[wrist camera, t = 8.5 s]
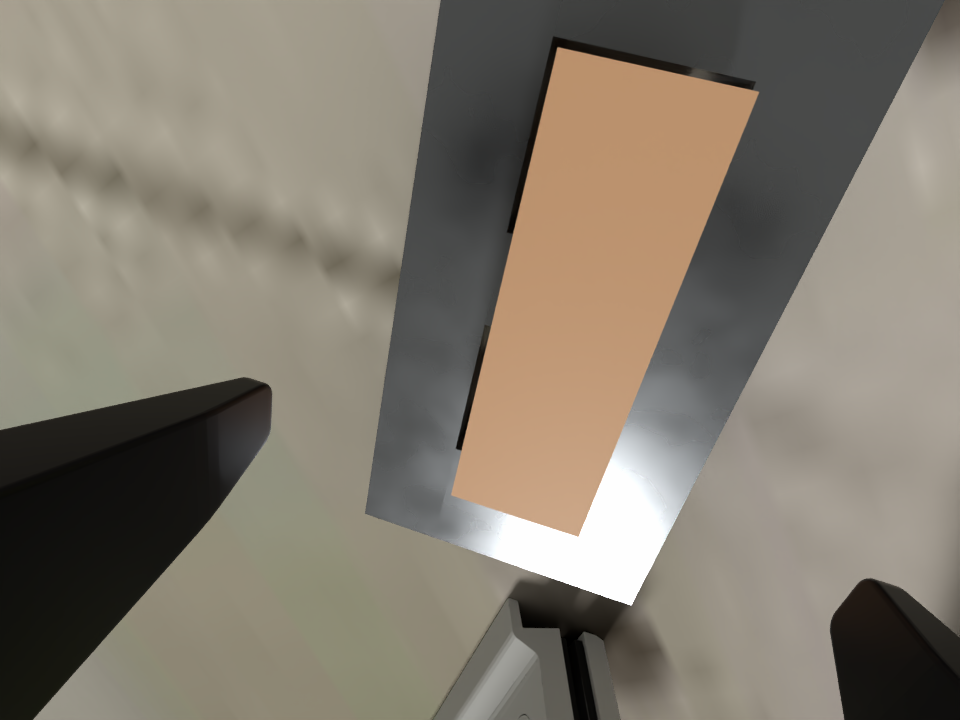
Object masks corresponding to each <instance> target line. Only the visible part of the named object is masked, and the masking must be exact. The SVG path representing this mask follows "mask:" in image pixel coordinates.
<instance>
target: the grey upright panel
mask: <svg viewBox="0 0 960 720" xmlns="http://www.w3.org/2000/svg"><path fill="white" fill-rule="evenodd" d="M433 720H621V719H620V714H619V710H618V705H617V701H616V696H615V692H614V687H613V682H612V678H611V673H610V669H609V664H608V660H607V655H606V651H605V646H604V642H603V640H602V639H600V638H599V637H597V636H596V635H593V634H590V633H587V632H583V633H582V634H581V636H580V637H579V638H578V639H577V640H574V641H573V642H572V644H571V645H570V646H569V648H567V642H566V639H565V638H561V637H560V630H559V628H523V627H522V622H521V616H520V611H519V605H518V601H516V600H513V599H510V598H508V599H507V600H506V602H505V604H504V605H503V607H502V608H501V610H500V612H499V613H498V615H497V617H496V618H495V620H494V621H493V623H492V625H491V626H490V628H489V630H488V631H487V633H486V634H485V636H484V638H483V639H482V641H481V643H480V644H479V646H478V648H477V649H476V651H475V652H474V654H473V656H472V657H471V659H470V661H469V662H468V664H467V665H466V667H465V669H464V670H463V672H462V674H461V675H460V677H459V678H458V680H457V682H456V683H455V685H454V687H453V688H452V690H451V691H450V693H449V695H448V696H447V698H446V700H445V701H444V703H443V704H442V706H441V708H440V709H439V711H438V713H437V714H436V716H435V717H434V719H433Z"/></svg>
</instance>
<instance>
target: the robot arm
mask: <svg viewBox="0 0 960 720" xmlns="http://www.w3.org/2000/svg"><path fill="white" fill-rule="evenodd" d="M271 413H272V390H271V388H270V386H269V385H268V384H266V383H263V382H260V381H257V380H254V379H251V378H246V377H243V378H238V379H233V380H229V381H224V382H220V383H215V384H210V385H206V386H201V387H197V388H192V389H187V390H183V391H178V392H173V393H169V394H164V395H160V396H155V397H150V398H146V399H141V400H137V401H132V402H127V403H123V404H118V405H114V406H109V407H104V408H100V409H95V410H91V411H86V412H81V413H77V414H72V415H67V416H63V417H58V418H54V419H49V420H44V421H40V422H35V423H31V424H26V425H21V426H17V427H12V428H8V429H3V430H0V720H33V719H34V718H35V717H36V716H37V714H38V713H39V712H40V711H41V710H42V709H43V708H44V706H45V705H46V704H47V703H48V702H49V701H50V700H51V699H52V697H53V696H54V695H55V694H56V693H57V692H58V691H59V690H60V688H61V687H62V686H63V685H64V684H65V683H66V682H67V681H68V679H69V678H70V677H71V676H72V675H73V674H74V673H75V671H76V670H77V669H78V668H79V667H80V666H81V665H82V664H83V662H84V661H85V660H86V659H87V658H88V657H89V656H90V655H91V653H92V652H93V651H94V650H95V649H96V648H97V647H98V646H99V644H100V643H101V642H102V641H103V640H104V639H105V638H106V636H107V635H108V634H109V633H110V632H111V631H112V630H113V629H114V627H115V626H116V625H117V624H118V623H119V622H120V621H121V620H122V618H123V617H124V616H125V615H126V614H127V613H128V612H129V611H130V609H131V608H132V607H133V606H134V605H135V604H136V603H137V601H138V600H139V599H140V598H141V597H142V596H143V595H144V594H145V592H146V591H147V590H148V589H149V588H150V587H151V586H152V585H153V583H154V582H155V581H156V580H157V579H158V578H159V577H160V576H161V574H162V573H163V572H164V571H165V570H166V569H167V568H168V567H169V565H170V564H171V563H172V562H173V561H174V560H175V559H176V557H177V556H178V555H179V554H180V553H181V552H182V551H183V550H184V548H185V547H186V546H187V545H188V544H189V543H190V542H191V541H192V539H193V538H194V537H195V536H196V535H197V534H198V533H199V532H200V530H201V529H202V528H203V527H204V526H205V524H206V523H207V522H208V521H209V520H210V518H211V517H212V516H213V515H214V513H215V512H216V511H217V509H218V508H219V507H220V505H221V504H222V503H223V501H224V500H225V498H226V497H227V496H228V494H229V493H230V491H231V490H232V489H233V487H234V486H235V484H236V483H237V482H238V480H239V479H240V477H241V476H242V475H243V473H244V472H245V470H246V469H247V468H248V466H249V465H250V463H251V462H252V461H253V459H254V458H255V456H256V455H257V454H258V452H259V451H260V449H261V448H262V447H263V445H264V444H265V442H266V441H267V439H268V436H269V434H270V430H271ZM830 634H831V640H832V646H833V653H834V659H835V665H836V671H837V677H838V683H839V689H840V695H841V702H842V708H843V714H844V720H960V637H958V636H957V635H956V634H955V633H954V632H953V631H951V630H950V629H949V628H948V627H947V626H946V625H944V624H943V623H942V622H941V621H940V620H939V619H937V618H936V617H935V616H934V615H933V614H931V613H930V612H929V611H928V610H927V609H926V608H924V607H923V606H922V605H921V604H920V603H919V602H917V601H916V600H915V599H914V598H913V597H912V596H910V595H909V594H908V593H907V592H906V591H904V590H903V589H901V588H899V587H897V586H894V585H891V584H888V583H885V582H882V581H879V580H876V579H872V578H869V579H864V580H862V581H860V582H859V583H858V584H857V585H856V587H855V588H854V589H853V590H852V592H851V593H850V594H849V595H848V597H847V598H846V599H845V600H844V602H843V603H842V604H841V605H840V607H839V608H838V609H837V611H836V612H835V613H834V615H833V617H832V620H831V624H830Z"/></svg>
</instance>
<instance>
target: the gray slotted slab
mask: <svg viewBox="0 0 960 720" xmlns="http://www.w3.org/2000/svg"><path fill="white" fill-rule="evenodd" d="M944 1H945V0H441V3H440V9H439V16H438V23H437V30H436V37H435V43H434V50H433V57H432V64H431V70H430V77H429V84H428V91H427V98H426V104H425V111H424V118H423V125H422V132H421V138H420V145H419V152H418V159H417V165H416V172H415V179H414V186H413V193H412V199H411V206H410V213H409V220H408V226H407V233H406V240H405V247H404V254H403V260H402V267H401V274H400V281H399V287H398V294H397V301H396V308H395V315H394V321H393V328H392V335H391V342H390V349H389V355H388V362H387V369H386V376H385V382H384V389H383V396H382V403H381V410H380V416H379V423H378V430H377V437H376V443H375V450H374V457H373V464H372V471H371V477H370V484H369V491H368V498H367V505H366V511H365V514H368V515H371V516H373V517H376V518H379V519H382V520H385V521H388V522H391V523H394V524H397V525H400V526H402V527H405V528H408V529H411V530H414V531H417V532H420V533H423V534H426V535H428V536H431V537H434V538H437V539H440V540H443V541H446V542H449V543H452V544H455V545H457V546H460V547H463V548H466V549H469V550H472V551H475V552H478V553H481V554H484V555H486V556H489V557H492V558H495V559H498V560H501V561H504V562H507V563H510V564H512V565H515V566H518V567H521V568H524V569H527V570H530V571H533V572H536V573H539V574H541V575H544V576H547V577H550V578H553V579H556V580H559V581H562V582H565V583H567V584H570V585H573V586H576V587H579V588H582V589H585V590H588V591H591V592H594V593H596V594H599V595H602V596H605V597H608V598H611V599H614V600H617V601H620V602H622V603H625V604H628V605H632V603H633V601H634V599H635V597H636V595H637V593H638V591H639V589H640V587H641V585H642V583H643V582H644V580H645V578H646V576H647V574H648V572H649V570H650V568H651V566H652V564H653V562H654V560H655V558H656V556H657V555H658V553H659V551H660V549H661V547H662V545H663V543H664V541H665V539H666V537H667V535H668V533H669V531H670V529H671V528H672V526H673V524H674V522H675V520H676V518H677V516H678V514H679V512H680V510H681V508H682V506H683V504H684V502H685V501H686V499H687V497H688V495H689V493H690V491H691V489H692V487H693V485H694V483H695V481H696V479H697V477H698V475H699V473H700V472H701V470H702V468H703V466H704V464H705V462H706V460H707V458H708V456H709V454H710V452H711V450H712V448H713V446H714V445H715V443H716V441H717V439H718V437H719V435H720V433H721V431H722V429H723V427H724V425H725V423H726V421H727V419H728V418H729V416H730V414H731V412H732V410H733V408H734V406H735V404H736V402H737V400H738V398H739V396H740V394H741V392H742V390H743V389H744V387H745V385H746V383H747V381H748V379H749V377H750V375H751V373H752V371H753V369H754V367H755V365H756V363H757V362H758V360H759V358H760V356H761V354H762V352H763V350H764V348H765V346H766V344H767V342H768V340H769V338H770V336H771V335H772V333H773V331H774V329H775V327H776V325H777V323H778V321H779V319H780V317H781V315H782V313H783V311H784V309H785V308H786V306H787V304H788V302H789V300H790V298H791V296H792V294H793V292H794V290H795V288H796V286H797V284H798V282H799V280H800V279H801V277H802V275H803V273H804V271H805V269H806V267H807V265H808V263H809V261H810V259H811V257H812V255H813V253H814V252H815V250H816V248H817V246H818V244H819V242H820V240H821V238H822V236H823V234H824V232H825V230H826V228H827V226H828V225H829V223H830V221H831V219H832V217H833V215H834V213H835V211H836V209H837V207H838V205H839V203H840V201H841V199H842V198H843V196H844V194H845V192H846V190H847V188H848V186H849V184H850V182H851V180H852V178H853V176H854V174H855V172H856V170H857V169H858V167H859V165H860V163H861V161H862V159H863V157H864V155H865V153H866V151H867V149H868V147H869V145H870V143H871V142H872V140H873V138H874V136H875V134H876V132H877V130H878V128H879V126H880V124H881V122H882V120H883V118H884V116H885V115H886V113H887V111H888V109H889V107H890V105H891V103H892V101H893V99H894V97H895V95H896V93H897V91H898V89H899V88H900V86H901V84H902V82H903V80H904V78H905V76H906V74H907V72H908V70H909V68H910V66H911V64H912V62H913V60H914V59H915V57H916V55H917V53H918V51H919V49H920V47H921V45H922V43H923V41H924V39H925V37H926V35H927V33H928V32H929V30H930V28H931V26H932V24H933V22H934V20H935V18H936V16H937V14H938V12H939V10H940V8H941V6H942V5H943V3H944ZM558 47H559V48H564V49H568V50H573V51H577V52H582V53H586V54H591V55H595V56H600V57H604V58H609V59H613V60H618V61H622V62H627V63H631V64H636V65H640V66H645V67H649V68H654V69H658V70H663V71H667V72H672V73H676V74H681V75H685V76H690V77H694V78H699V79H703V80H708V81H712V82H717V83H721V84H726V85H731V86H735V87H740V88H744V89H749V90H753V91H758V92H759V94H758V96H757V99H756V101H755V104H754V106H753V109H752V111H751V114H750V116H749V119H748V121H747V123H746V126H745V128H744V131H743V133H742V136H741V138H740V141H739V143H738V146H737V148H736V151H735V153H734V156H733V158H732V161H731V163H730V165H729V168H728V170H727V173H726V175H725V178H724V180H723V183H722V185H721V188H720V190H719V193H718V195H717V198H716V200H715V202H714V205H713V207H712V210H711V212H710V215H709V217H708V220H707V222H706V225H705V227H704V230H703V232H702V235H701V237H700V239H699V242H698V244H697V247H696V249H695V252H694V254H693V257H692V259H691V262H690V264H689V267H688V269H687V272H686V274H685V276H684V279H683V281H682V284H681V286H680V289H679V291H678V294H677V296H676V299H675V301H674V304H673V306H672V309H671V311H670V314H669V316H668V318H667V321H666V323H665V326H664V328H663V331H662V333H661V336H660V338H659V341H658V343H657V346H656V348H655V351H654V353H653V355H652V358H651V360H650V363H649V365H648V368H647V370H646V373H645V375H644V378H643V380H642V383H641V385H640V388H639V390H638V392H637V395H636V397H635V400H634V402H633V405H632V407H631V410H630V412H629V415H628V417H627V420H626V422H625V425H624V427H623V430H622V432H621V434H620V437H619V439H618V442H617V444H616V447H615V449H614V452H613V454H612V457H611V459H610V462H609V464H608V467H607V469H606V471H605V474H604V476H603V479H602V481H601V484H600V486H599V489H598V491H597V494H596V496H595V499H594V501H593V504H592V506H591V508H590V511H589V513H588V516H587V518H586V521H585V523H584V526H583V528H582V531H581V533H580V536H579V537H576V536H573V535H570V534H566V533H563V532H560V531H557V530H554V529H551V528H548V527H545V526H542V525H539V524H536V523H533V522H530V521H527V520H524V519H521V518H518V517H515V516H512V515H509V514H506V513H503V512H500V511H497V510H494V509H491V508H488V507H485V506H482V505H479V504H476V503H473V502H470V501H467V500H464V499H461V498H458V497H455V496H452V495H451V493H452V489H453V485H454V481H455V476H456V472H457V468H458V464H459V460H460V455H461V451H462V447H463V443H464V439H465V434H466V430H467V426H468V422H469V418H470V413H471V409H472V405H473V401H474V397H475V392H476V388H477V384H478V380H479V376H480V371H481V367H482V363H483V359H484V355H485V350H486V346H487V342H488V338H489V334H490V329H491V325H492V321H493V317H494V313H495V308H496V304H497V300H498V296H499V292H500V287H501V283H502V279H503V275H504V271H505V266H506V262H507V258H508V254H509V250H510V245H511V241H512V237H513V233H514V229H515V224H516V220H517V216H518V212H519V208H520V203H521V199H522V195H523V191H524V187H525V182H526V178H527V174H528V170H529V166H530V161H531V157H532V153H533V149H534V145H535V140H536V136H537V132H538V128H539V124H540V119H541V115H542V111H543V107H544V103H545V98H546V94H547V90H548V86H549V82H550V77H551V73H552V69H553V65H554V61H555V56H556V52H557V48H558Z"/></svg>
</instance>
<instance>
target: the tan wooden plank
mask: <svg viewBox="0 0 960 720" xmlns="http://www.w3.org/2000/svg"><path fill="white" fill-rule="evenodd" d="M758 94H759V92H758V91H753V90H749V89H744V88H740V87H735V86H731V85H726V84H721V83H717V82H712V81H708V80H703V79H699V78H694V77H690V76H685V75H681V74H676V73H672V72H667V71H663V70H658V69H654V68H649V67H645V66H640V65H636V64H631V63H627V62H622V61H618V60H613V59H609V58H604V57H600V56H595V55H591V54H586V53H582V52H577V51H573V50H568V49H564V48H559V47H558V48H557V52H556V56H555V61H554V65H553V69H552V73H551V77H550V82H549V86H548V90H547V94H546V98H545V103H544V107H543V111H542V115H541V119H540V124H539V128H538V132H537V136H536V140H535V145H534V149H533V153H532V157H531V161H530V166H529V170H528V174H527V178H526V182H525V187H524V191H523V195H522V199H521V203H520V208H519V212H518V216H517V220H516V224H515V229H514V233H513V237H512V241H511V245H510V250H509V254H508V258H507V262H506V266H505V271H504V275H503V279H502V283H501V287H500V292H499V296H498V300H497V304H496V308H495V313H494V317H493V321H492V325H491V329H490V334H489V338H488V342H487V346H486V350H485V355H484V359H483V363H482V367H481V371H480V376H479V380H478V384H477V388H476V392H475V397H474V401H473V405H472V409H471V413H470V418H469V422H468V426H467V430H466V434H465V439H464V443H463V447H462V451H461V455H460V460H459V464H458V468H457V472H456V476H455V481H454V485H453V489H452V493H451V495H452V496H455V497H458V498H461V499H464V500H467V501H470V502H473V503H476V504H479V505H482V506H485V507H488V508H491V509H494V510H497V511H500V512H503V513H506V514H509V515H512V516H515V517H518V518H521V519H524V520H527V521H530V522H533V523H536V524H539V525H542V526H545V527H548V528H551V529H554V530H557V531H560V532H563V533H566V534H570V535H573V536H576V537H579V536H580V533H581V531H582V528H583V526H584V523H585V521H586V518H587V516H588V513H589V511H590V508H591V506H592V504H593V501H594V499H595V496H596V494H597V491H598V489H599V486H600V484H601V481H602V479H603V476H604V474H605V471H606V469H607V467H608V464H609V462H610V459H611V457H612V454H613V452H614V449H615V447H616V444H617V442H618V439H619V437H620V434H621V432H622V430H623V427H624V425H625V422H626V420H627V417H628V415H629V412H630V410H631V407H632V405H633V402H634V400H635V397H636V395H637V392H638V390H639V388H640V385H641V383H642V380H643V378H644V375H645V373H646V370H647V368H648V365H649V363H650V360H651V358H652V355H653V353H654V351H655V348H656V346H657V343H658V341H659V338H660V336H661V333H662V331H663V328H664V326H665V323H666V321H667V318H668V316H669V314H670V311H671V309H672V306H673V304H674V301H675V299H676V296H677V294H678V291H679V289H680V286H681V284H682V281H683V279H684V276H685V274H686V272H687V269H688V267H689V264H690V262H691V259H692V257H693V254H694V252H695V249H696V247H697V244H698V242H699V239H700V237H701V235H702V232H703V230H704V227H705V225H706V222H707V220H708V217H709V215H710V212H711V210H712V207H713V205H714V202H715V200H716V198H717V195H718V193H719V190H720V188H721V185H722V183H723V180H724V178H725V175H726V173H727V170H728V168H729V165H730V163H731V161H732V158H733V156H734V153H735V151H736V148H737V146H738V143H739V141H740V138H741V136H742V133H743V131H744V128H745V126H746V123H747V121H748V119H749V116H750V114H751V111H752V109H753V106H754V104H755V101H756V99H757V96H758Z"/></svg>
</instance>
